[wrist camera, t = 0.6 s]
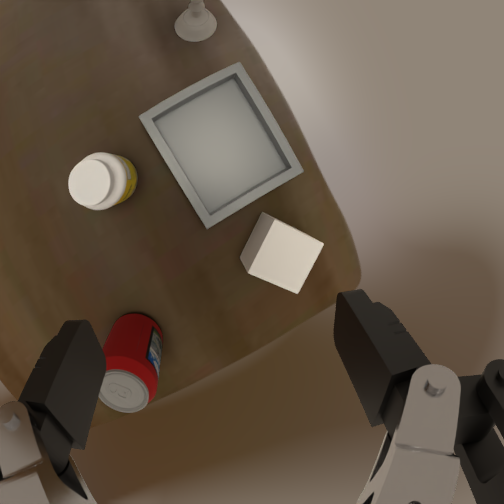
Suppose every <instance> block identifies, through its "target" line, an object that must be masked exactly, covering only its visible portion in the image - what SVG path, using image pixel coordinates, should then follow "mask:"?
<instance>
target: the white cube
mask: <svg viewBox="0 0 504 504" xmlns="http://www.w3.org/2000/svg"><path fill="white" fill-rule="evenodd" d="M323 245H324V244H323V243H322V242H320V241H318V240H316V239H315V238H313V237H311V236H309V235H307V234H306V233H304V232H302V231H300V230H298V229H296V228H294V227H292V226H290V225H288V224H286V223H284V222H282V221H280V220H278V219H276V218H274V217H272V216H270V215H268V214H266V213H264V212H262V213H261V215H260V217H259V219H258V221H257V223H256V225H255V227H254V229H253V231H252V233H251V235H250V237H249V239H248V241H247V243H246V245H245V247H244V249H243V251H242V253H241V255H240V257H239V258H240V259H241V261H242V263H243V265H244V267H245V269H246V271H247V273H249V274H251V275H253V276H256V277H258V278H261V279H263V280H265V281H268V282H270V283H272V284H275V285H277V286H280V287H282V288H284V289H287V290H289V291H292V292H294V293H296V294H298V292H299V291H300V289H301V287H302V285H303V283H304V281H305V279H306V278H307V276H308V274H309V272H310V270H311V268H312V266H313V264H314V262H315V261H316V259H317V257H318V255H319V253H320V251H321V249H322V247H323Z"/></svg>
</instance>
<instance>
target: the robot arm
mask: <svg viewBox="0 0 504 504" xmlns="http://www.w3.org/2000/svg"><path fill="white" fill-rule="evenodd" d="M334 342H335V346H336V349H337V351H338V353H339V355H340V357H341V359H342V362H343V364H344V366H345V368H346V370H347V373H348V375H349V377H350V379H351V381H352V384H353V385H354V388H355V390H356V392H357V395H358V397H359V399H360V401H361V404H362V406H363V408H364V410H365V413H366V415H367V417H368V420H369V422H370V424H371V426H372V427H373V426H376V425H380V424H383V423H384V424H385V427H386V429H387V432H386V434H385V437H384V440H383V443H382V446H381V449H380V451H379V454H378V457H377V459H376V462H375V464H374V467H373V470H372V472H371V474H370V477H369V479H368V482H367V484H366V486H365V488H364V490H363V492H362V494H361V495H360V497H359V499H358V501H357V503H356V504H452V500H453V496H454V492H455V488H456V483H457V479H458V474H459V468H460V465H461V467H462V469H463V471H464V474H465V476H466V478H467V481H468V483H469V486H470V488H471V490H472V493H473V495H474V498H475V500H476V503H477V504H504V447H503V445H502V443H501V441H500V439H499V438H498V435H497V434H496V432H495V430H494V428H493V427H494V426H495V425H496V426H497V428H498V429H499V431H500V433H501V435H502V437H503V438H504V360H502V359H498V360H494V361H491V362H490V363H489V364H488V365H487V366H486V368H485V369H484V372H483V373H482V375H474V376H462V377H457V376H456V374H455V373H454V372H453V371H451V370H450V369H448V368H447V367H444V366H441V365H436V364H431V363H430V361H429V360H428V359H427V357H426V356H425V355H424V353H423V352H422V350H421V349H420V348H419V346H418V345H417V343H416V342H415V341H414V339H413V338H412V337H411V335H410V334H409V332H406V328H405V327H404V326H403V324H402V323H400V321H399V319H398V318H397V317H396V315H395V314H394V313H393V312H392V310H391V309H389V308H388V307H386V306H384V305H383V304H381V303H380V302H375V303H372V301H371V300H370V299H369V297H368V296H367V295H366V293H365V292H364V291H363V290H362V289H359V290H353V291H347V292H341V293H338V295H337V301H336V312H335V322H334ZM105 373H106V358H105V354H104V352H103V350H102V348H101V346H100V344H99V342H98V340H97V337H96V335H95V333H94V331H93V328H92V326H91V324H90V323H89V321H87V320H69V321H66V322H65V323H64V324H63V326H62V328H61V329H60V331H59V333H58V335H57V336H55V337H54V338H53V339H52V340H51V341H50V342H49V343H48V344H47V345H46V346H45V348H44V350H43V351H42V353H41V355H40V359H38V361H37V363H36V365H35V368H34V369H33V371H32V373H31V375H30V377H29V379H28V381H27V383H26V385H25V387H24V389H23V391H22V393H21V395H20V398H19V400H18V401H12V402H8V403H6V404H4V405H2V406H1V407H0V504H97V503H96V502H95V500H94V498H93V496H92V495H91V493H90V491H89V490H88V487H87V486H86V484H85V482H84V480H83V478H82V476H81V475H80V472H79V470H78V468H77V466H76V464H75V462H74V460H73V458H72V457H71V456H70V455H69V454H70V450H71V448H75V449H82V450H84V449H85V445H86V441H87V437H88V433H89V429H90V425H91V421H92V418H93V414H94V410H95V407H96V403H97V399H98V396H99V393H100V389H101V386H102V383H103V379H104V376H105ZM453 449H454V451H455V454H456V455H454V453H453Z"/></svg>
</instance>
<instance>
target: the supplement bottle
mask: <svg viewBox="0 0 504 504" xmlns="http://www.w3.org/2000/svg"><path fill="white" fill-rule="evenodd" d="M137 181H138V176H137V171H136V168H135V167H134V165H133V164H132V162H131V161H130V160H128V159H127V158H125V157H122V156H118V155H114V154H109V153H103V152H99V153H94V154H91V155H89V156H87V157H85V158H84V159H83V160H82V161H81V162H79V163H78V164H77V165H76V166H75V167H74V168H73V170H72V171H71V174H70V176H69V181H68V186H69V191H70V194H71V196H72V197H73V199H74V200H75V201H76V202H77V203H79V204H81V205H83V206H85V207H87V208H89V209H93V210H103V209H107V208H110V207H112V206H114V205H116V204H118V203H121V202H123V201H125V200H126V199H128V198H129V197H130V196H131V195H132V194H133V192H134V191H135V188H136V186H137Z"/></svg>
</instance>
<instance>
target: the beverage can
mask: <svg viewBox="0 0 504 504" xmlns="http://www.w3.org/2000/svg"><path fill="white" fill-rule="evenodd" d="M162 344H163V336H162V332H161V330H160V328H159V326H158V325H157V324H156V323H155V322H154V321H153V320H152V319H150V318H149V317H147V316H144V315H141V314H127V315H124V316H122V317H120V318H119V319H118V320H117V321H116V322H115V324H114V325H113V327H112V330H111V332H110V334H109V336H108V338H107V340H106V342H105V344H104V347H103V349H102V350H103V352H104V354H105V358H106V373H105V376H104V379H103V383H102V386H101V389H100V393H99V398H100V399H101V400H102V401H103V402H104V403H105V404H106V405H107V406H109V407H110V408H112V409H114V410H117V411H120V412H127V413H131V412H136V411H139V410H141V409H143V408H144V407H145V406H146V405H147V403H149V402H150V401H151V400H152V399H153V398H154V396H155V394H156V391H157V384H158V376H159V369H160V361H161V353H162Z"/></svg>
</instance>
